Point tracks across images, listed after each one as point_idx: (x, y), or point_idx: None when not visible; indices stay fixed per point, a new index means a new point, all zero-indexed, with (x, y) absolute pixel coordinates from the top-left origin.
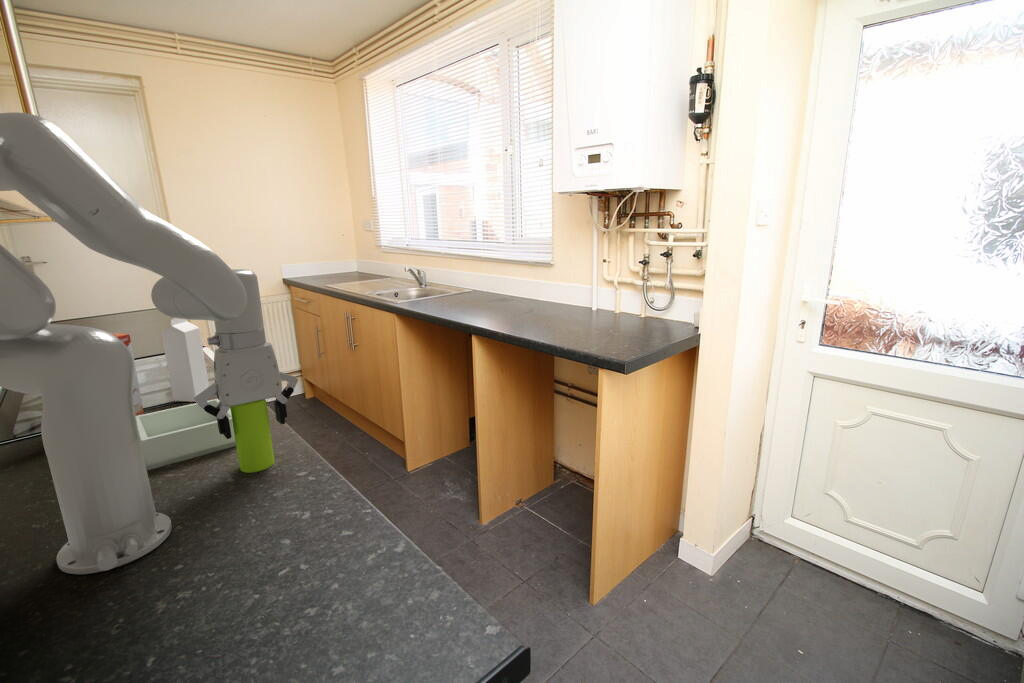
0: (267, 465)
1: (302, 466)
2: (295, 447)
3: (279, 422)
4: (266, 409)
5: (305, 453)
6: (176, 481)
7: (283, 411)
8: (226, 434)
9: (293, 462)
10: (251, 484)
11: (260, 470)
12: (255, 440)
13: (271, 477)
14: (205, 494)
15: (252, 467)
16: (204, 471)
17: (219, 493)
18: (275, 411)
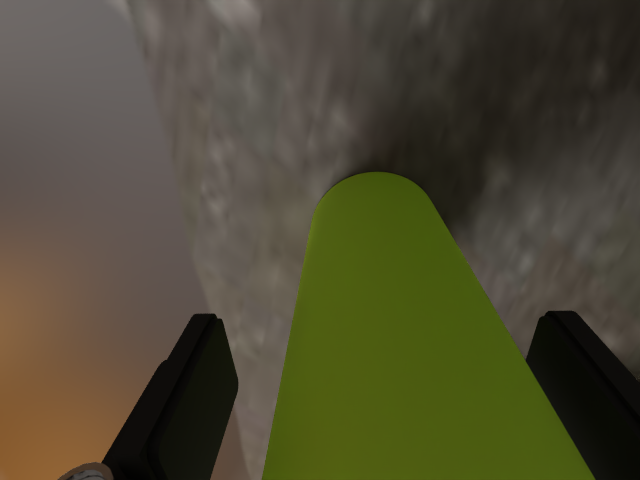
0: (349, 181)
1: (221, 88)
2: (221, 281)
3: (227, 343)
4: (277, 446)
5: (193, 209)
6: (625, 289)
7: (153, 387)
8: (589, 337)
9: (249, 159)
10: (454, 60)
11: (380, 172)
12: (405, 239)
13: (363, 71)
14: (628, 105)
15: (410, 186)
16: (527, 301)
17: (588, 69)
18: (219, 439)
